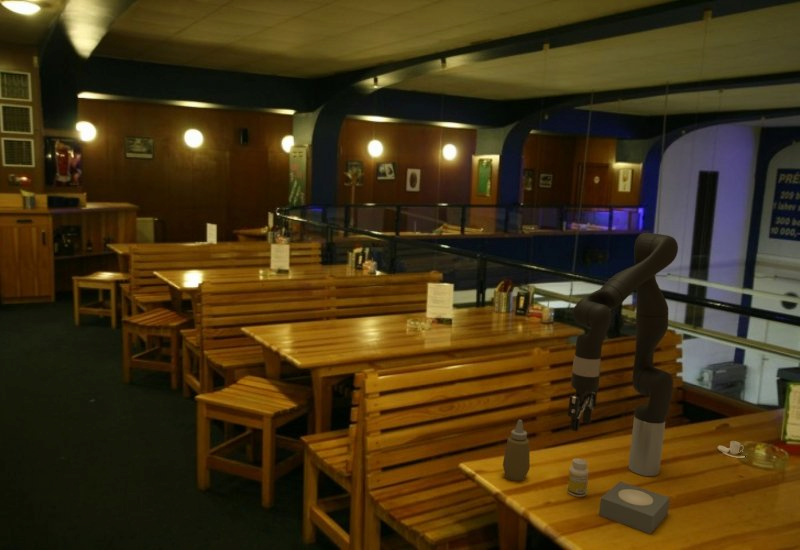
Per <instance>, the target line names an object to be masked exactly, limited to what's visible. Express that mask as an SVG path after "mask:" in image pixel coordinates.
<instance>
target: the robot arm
mask: <svg viewBox="0 0 800 550" xmlns="http://www.w3.org/2000/svg"><path fill="white" fill-rule="evenodd" d="M678 245H679V244H678V242H677V240H676V239H675V237H673V236H670V235H668V234H661V233H660V234H659V233H652V232H651V233H650V232H642V233H640V234H639V235H638V236H637V238H636V239H635V243H634V249H633V254H634V255H633V259H634V265H633V266H630V267H628V268H625V269H624V270H621V271H619V272H617V273H615V274H614V275H613V276H611V278H610V279H608V280H607V281H606V282H605V283H604V284H603V285H602V286H601V287H600V288H599V289H597V290H595V291H593V292H591V293H589V294H587V295H586V296H584V297H583V298H581V299H580V300H579V301H578V302H577V303H576V304H575V306H574V308H573V311H572V318H573V320H574V321H575V323H577V324H579V325H581V326H584V327H587V328H590V331H589V332H588V333H581V334H579V335H578V336H577V338H576V342H575V351H574V358H573V360H572V362H573V363H572V371H571V372H572V373H571V379H570V380H571V383H570V385H571V387H572V388H573V389H574V390H575V394H574V395H570V396H569V403H568V409H567V416H568V417H570V425H569V429H570V430H571V431H574V432H578V431H579V429H580V419H581V415H582V422H583V423H585V424H590V423H591V421H592V412H593V411H594V408H596V406H597V399H598V398H597V396H598V389H599V388H600V387H599V385H600V376H601V369H602V368H601V367H602V362H601V358H602V350H603V349H602V348H603V343H604V341H605V338H606V335H607V332H608V331H609V328H610V326H611V323H612V322H611V321H612V312H611V310H614V309H617V308H618V307H619V306H621V304H622V303H623V302H624V301H625V300H626V299H627V298H628V297H629V296H631V294H632V293H633V292H635V291H636V306H635V307H636V308H635V331H636V332H635V333H636V334H635V335H636V336H635V351H634V352H635V353H634V361H633V368H632V369H633V370H632V386H633V389H634V390H635V392H637V393H638V394H640V395H643V396H646V397H647V398H648V399H649V400H648V403H647V404H640V405H637V406H635V409H634V414H633V417H634V418H633V424H632V425H633V426H632V432H631V443H630V448H629V449H630V451H629V456H628V458H629V459H628V470H630V471H631V472H632V473H634V474H637V475H639V476H644V477H655V476H658V475H659V474H660V467H661V460H662V452H663V443H664V436H665V427H666V419H667V416H668V413H669V410H670V407H671V400H672V396H673V395H672V394H673V391H674V390H673V389H674V378H673V376H672V374H671V373H669V372H668V371H666V370H663V369H659V368H657V367H654V354H655V351H656V348H657V346H658V345H659V344H660V342H661V341H662V339H663V338H664V337H665V335H666V334H667V331H668V328H669V305H668V302H667V300H666V298H665V296H664V294H663V292H662V289H661V288H660V286H659V284H658V282H657V279H656V275H657V274H658V273H660V272H661V271H662V270H665V269H666V268H667V267H669V266H670V265H671V264H672V263H673V262H674V261H675V259H676V258H677V254H678V252H679V246H678Z"/></svg>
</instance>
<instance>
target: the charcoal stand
mask: <svg viewBox="0 0 800 550" xmlns="http://www.w3.org/2000/svg"><path fill="white" fill-rule="evenodd" d="M670 500H671V497H669V496H665V495H663V494H661V493H657V492H654V491H651V490H647V489H644V488H641V487H639V486H635V485H633V484H630V483H626V482H624V481H621V480H620V481H618V482H617V483H616V484H614V486H612V488H611V489H609V490H608V491H607V492H606V493H604V495H603V496H602V497H600V503H599V512H598V515H599V516H601V517H603V518H606V519H608V520H611V521H614V522H616V523H619V524H621V525H625V526H627V527H629V528H633V529H635V530H638V531H641V532H643V533H646V534H649V535H652V534H653V532H654V531H655V530H656V529H657V528H658V526H659V525H660V524H661V523H662V522H663V521H664V519H666V517H667V516H668V514H669V509H670V508H669V507H670Z"/></svg>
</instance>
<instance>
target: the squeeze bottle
mask: <svg viewBox="0 0 800 550" xmlns="http://www.w3.org/2000/svg"><path fill="white" fill-rule="evenodd" d="M527 437H528V432H527V431H526V430H524V426H523V420H522V419H518V420H517V422H516V426H515V428H514V429H512V430H511V433H510V436H508V437H507V440H506V441H507V442H506V446H505V452H504V456H503V462H502V468H503V472H504V475H505V477H506V478H507V479H508V480H510V481H514V482H521V481H524V480H525V479H526V477H527V475H528V473H529V471H530V465H531V464H530V461H531V460H530V458H531V457H530V440H529V439H528V438H527Z"/></svg>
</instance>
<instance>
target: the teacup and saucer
mask: <svg viewBox="0 0 800 550" xmlns="http://www.w3.org/2000/svg"><path fill="white" fill-rule="evenodd" d="M729 443H730V444H729V447H726V446H724V445H718V446H717V449H718V451H720V452H721V453H723V454H724V455H725V456H728V457H732V458H737V459H744V458H746V457H745V456H742V455H741V456H736V455H738V454H741V453H740V452H741V451H742V452H743V450H744V449H745V446H744V445H742V444H741V443H740V442H739V441H735V440H731V441H729ZM741 447H742V449H741V450H740V448H741ZM739 450H740V452H739ZM729 452H730V453H731V454H732V455H731V454H729Z"/></svg>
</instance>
